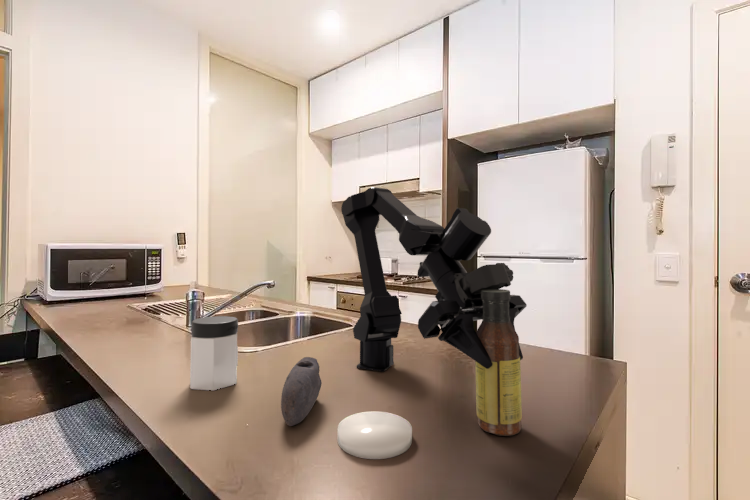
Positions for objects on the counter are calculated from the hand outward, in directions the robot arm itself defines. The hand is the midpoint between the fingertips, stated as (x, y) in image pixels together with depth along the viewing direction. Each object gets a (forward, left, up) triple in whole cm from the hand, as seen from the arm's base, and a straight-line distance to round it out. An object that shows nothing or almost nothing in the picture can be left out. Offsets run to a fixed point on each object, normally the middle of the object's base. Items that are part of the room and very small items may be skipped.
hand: (505, 363), depth 52 cm
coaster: (-16, -9, -10) cm, 21 cm away
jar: (-52, -2, -10) cm, 53 cm away
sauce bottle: (-1, +1, -10) cm, 10 cm away
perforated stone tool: (-30, -6, -10) cm, 32 cm away
